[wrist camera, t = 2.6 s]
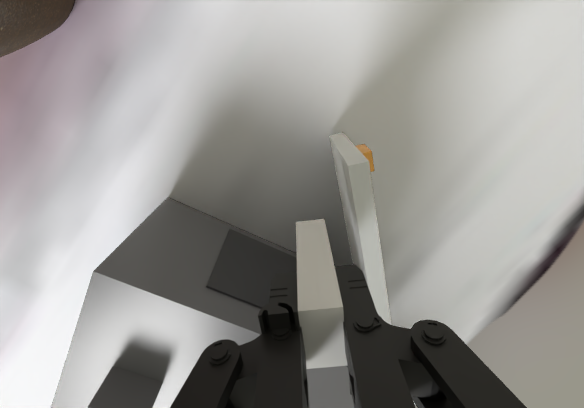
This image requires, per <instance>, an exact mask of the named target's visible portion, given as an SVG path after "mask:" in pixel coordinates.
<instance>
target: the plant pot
mask: <svg viewBox="0 0 584 408" xmlns="http://www.w3.org/2000/svg"><path fill="white" fill-rule="evenodd" d="M74 1H75V0H0V57H2V56H4V55H7V54H9V53H12V52H14V51H16V50H18V49H21V48H23V47H25V46H27V45H29V44H31V43H33V42H35V41H37V40H39V39H41V38H42V37H44V36H46V35H48V34H49V33H51V32H52V31H54V30H56V29H57V28H58V27H60V26H61V25H62V24H63V23H64V22H65V20H66V19H67V18H68V16H69V14H70V12H71V10H72V7H73V4H74Z"/></svg>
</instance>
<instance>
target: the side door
mask: <svg viewBox="0 0 584 408" xmlns="http://www.w3.org/2000/svg"><path fill="white" fill-rule="evenodd" d="M329 137H330V143H331V148H332V153H333V159H334V164H335V170H336V175H337V181H338V186H339V192H340V197H341V202H342V208H343V213H344V219H345V224H346V230H347V235H348V241H349V246H350V251H351V257H352V262H353V265H356V266H358V267H359V268H360V269H361V270H362V271H363V274H364V276H365V279H366V282H367V285H368V288H369V291H370V294H371V296H372V299H373V302H374V305H375V308H376V311H377V313H378V315H379V316H380V317H381V318H382V319H383V320H384V321H385V322H387V323H388V324H391V325H392V323H391V316H390V309H389V302H388V294H387V287H386V280H385V273H384V266H383V258H382V251H381V244H380V237H379V230H378V222H377V215H376V208H375V201H374V194H373V187H372V179H371V172H372V171H374V165H373V157H372V151H371V150H370V149H369V148H368V147H367V146H366V145H365V144H361V145H357V146H355V145H354V144H353V143H352V142H351V141H350V140H349V138H348V137H347V136H346V135H345V134H344V133H343V132H342V133H338V134H334V135H329Z"/></svg>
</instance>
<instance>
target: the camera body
mask: <svg viewBox="0 0 584 408" xmlns="http://www.w3.org/2000/svg"><path fill="white" fill-rule="evenodd" d="M296 271H297V254H296V253H294V252H292V251H289V250H287V249H285V248H283V247H280V246H278V245H276V244H273V243H271V242H269V241H267V240H264V239H262V238H260V237H257V236H255V235H253V234H251V233H248V232H246V231H244V230H241V229H239V228H237V227H235V226H232V225H230V224H228V223H225V222H223V221H221V220H219V219H216V218H214V217H212V216H209V215H207V214H205V213H203V212H200V211H198V210H196V209H193V208H191V207H189V206H187V205H184V204H182V203H180V202H177V201H175V200H173V199H171V198H167V199H166V200H165V201H164V202H163V203H162V204H161V205H160V206H159V207H158V208H157V209H156V210H155V211H154V212H153V213H152V214H151V215H150V216H149V217H148V218H147V219H146V220H145V221H144V222H143V223H142V224H140V225H139V226H138V227H137V228H136V229H135V230H134V231H133V232H132V233H131V234H130V235H129V236H128V237H127V238H126V239H125V240H124V241H123V242H122V243H121V244H120V245H119V246H118V247H117V248H116V249H115V250H114V251H113V252H112V253H111V254H110V255H109V256H108V257H107V258H106V259H105V260H104V261H103V262H102V263H101V264H100V265H99V266H98V267H97V268H96V269H95V270H94V271H93V274H92V277H91V280H90V284H89V287H88V290H87V293H86V296H85V300H84V303H83V306H82V309H81V313H80V316H79V319H78V322H77V325H76V329H75V332H74V335H73V338H72V341H71V345H70V348H69V351H68V354H67V358H66V361H65V364H64V367H63V370H62V374H61V377H60V380H59V383H58V386H57V390H56V393H55V396H54V399H53V402H52V406H51V408H170V407H171V405H172V403H173V402H174V400H175V398H176V396H177V395H178V393H179V391H180V390H181V388H182V386H183V385H184V383H185V381H186V379H187V378H188V376H189V374H190V373H191V371H192V369H193V367H194V366H195V364H196V362H197V361H198V359H199V357H200V356H201V354H202V352H203V351H204V350H205V349H206V348H207V347H208V346H209V345H211V344H212V343H214V342H216V341H219V340H225V339H229V340H232V341H235V342H236V343H237V344H238V345H242V344H245V343H247V342H250V341H252V340H254V339H256V338H257V337H258V336H260V335H261V334H262V333H261V328H260V323H259V319H258V314H259V311H260V310H261V309H262V308H263V307H264V305H266V304H268V303H269V298H270V287H271V281H272V279H273V278H274V276H275V275H276V273H286V272H296ZM306 372H307V380H308V392H309V408H354V404H353V398H352V395H350V384H349V370H348V364H347V366H336V367H325V368H313V369H306Z"/></svg>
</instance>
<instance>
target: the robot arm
mask: <svg viewBox="0 0 584 408" xmlns="http://www.w3.org/2000/svg"><path fill="white" fill-rule="evenodd" d="M296 250H297V271H296V272H286V273H276V275H275V276H274V278H273V279H272V281H271V287H270V298H269V303H268V304H266V305H264V307H263V308H262V309H261V310H260V311H259V314H258V319H259V323H260V328H261V333H262V334H261V335H260V336H258V337H257V338H256V339H254V340H252V341H250V342H247V343H245V344H242V345H238V344H237V343H236V342H235V341H232V340H229V339H225V340H219V341H216V342H214V343H212V344H211V345H209V346H208V347H207V348H206V349H205V350H204V351H203V352H202V354H201V356H200V357H199V359H198V361H197V362H196V364H195V366H194V367H193V369H192V371H191V373H190V374H189V376H188V378H187V379H186V381H185V383H184V385H183V386H182V388H181V390H180V391H179V393H178V395H177V396H176V398H175V400H174V402H173V403H172V405H171V407H170V408H309V392H308V380H307V372H306V369H313V368H325V367H336V366H347V364H348V370H349V384H350V395H352V398H353V404H354V408H415V405H414V403H415V404H416V406H417V407H418V408H527V407H526V406H525V405H524V404H523V403H522V402H521V401H520V400H519V399H518V398H517V397H516V396H515V395H514V394H513V393H512V392H511V391H510V390H509V389H508V388H507V387H506V386H505V385H504V384H503V382H502V381H501V380H500V379H499V378H497V376H496V375H495V374H494V373H493V372H492V371H491V370H490V369H489V368H488V367H487V366H486V365H485V364H484V363H483V362H482V361H481V360H480V359H479V358H478V356H477V355H476V354H475V353H474V352H473V351H472V350H471V349H470V348H469V347H468V346H467V345H466V344H465V343H464V342H463V341H462V340H461V339H460V338H459V337H458V336H457V335H456V334H455V333H454V332H453V330H451V329H450V328H449V327H448V326H446V325H445V324H443V323H440V322H438V321H433V320H422V321H419V322H417V323H415V324H414V325H413V327H412V328H411V329H407V328H401V327H396V326H393V325H391V324H388V323H387V322H385V321H384V320H383V319H382V318H381V317H380V316H379V315H378V313H377V311H376V308H375V305H374V302H373V299H372V296H371V294H370V291H369V288H368V285H367V282H366V279H365V276H364V274H363V271H362V270H361V269H360V268H359V267H358V266H356V265H347V266H337V267H334V262H333V257H332V253H331V248H330V243H329V239H328V234H327V229H326V224H325V220H324V219H318V220H309V221H300V222H296ZM412 399H413V400H412ZM413 401H414V402H413Z"/></svg>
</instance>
